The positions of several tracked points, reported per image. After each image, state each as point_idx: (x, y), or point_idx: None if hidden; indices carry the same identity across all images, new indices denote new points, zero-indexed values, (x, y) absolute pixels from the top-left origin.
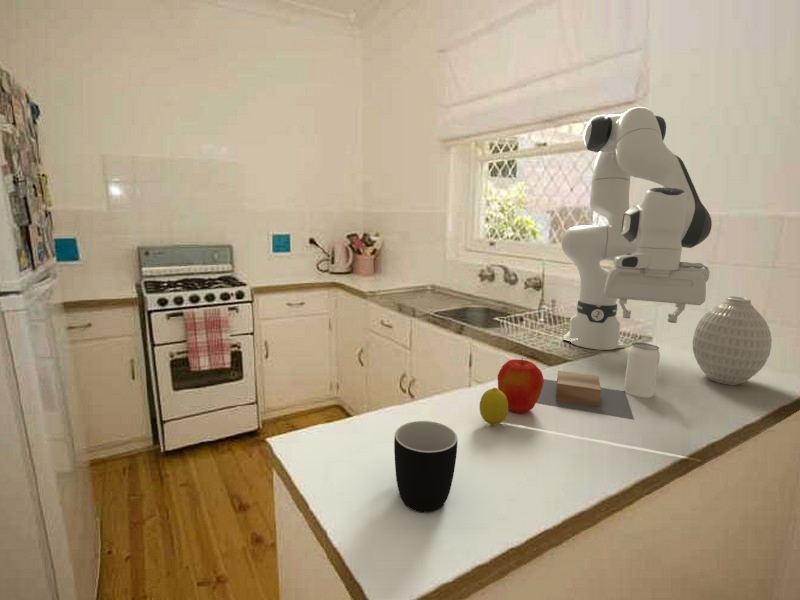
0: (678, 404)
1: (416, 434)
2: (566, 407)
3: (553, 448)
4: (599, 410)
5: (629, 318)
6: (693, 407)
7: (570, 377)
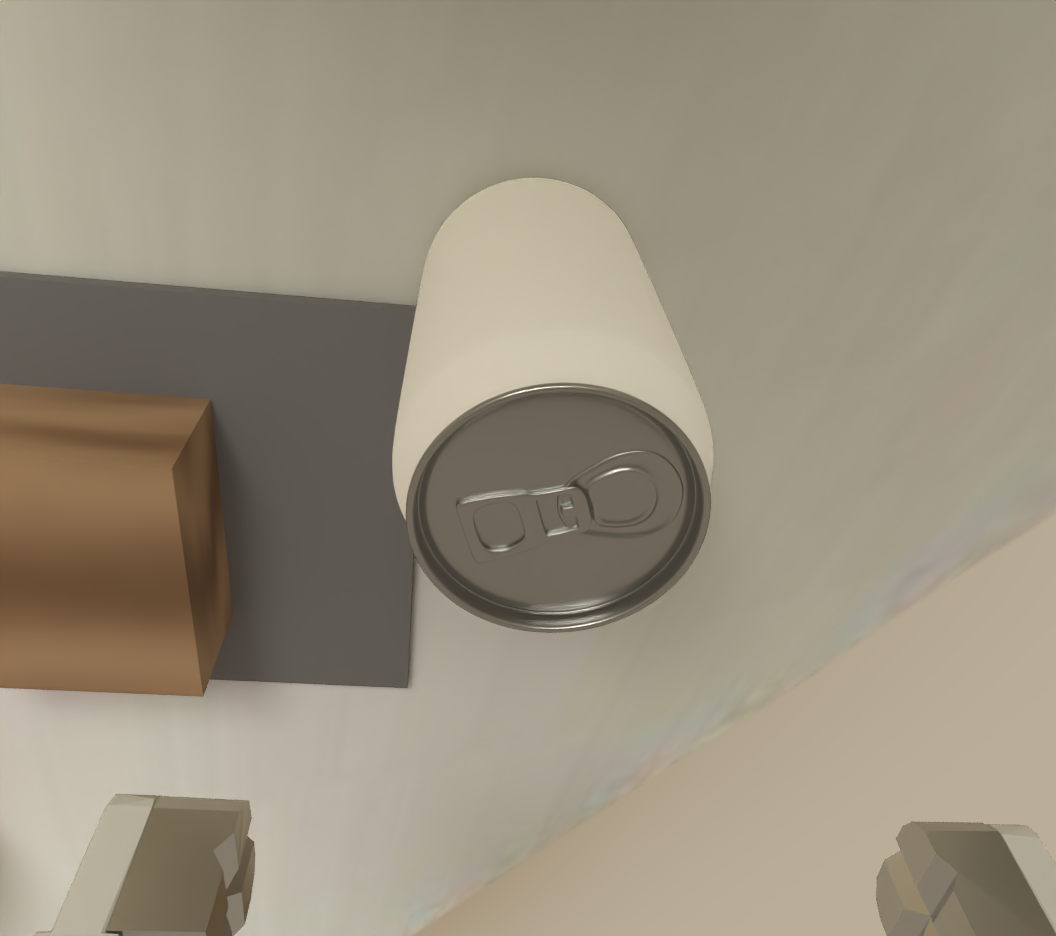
0: (755, 396)
1: None
2: None
3: None
4: (236, 649)
5: (248, 856)
6: (835, 414)
7: None
